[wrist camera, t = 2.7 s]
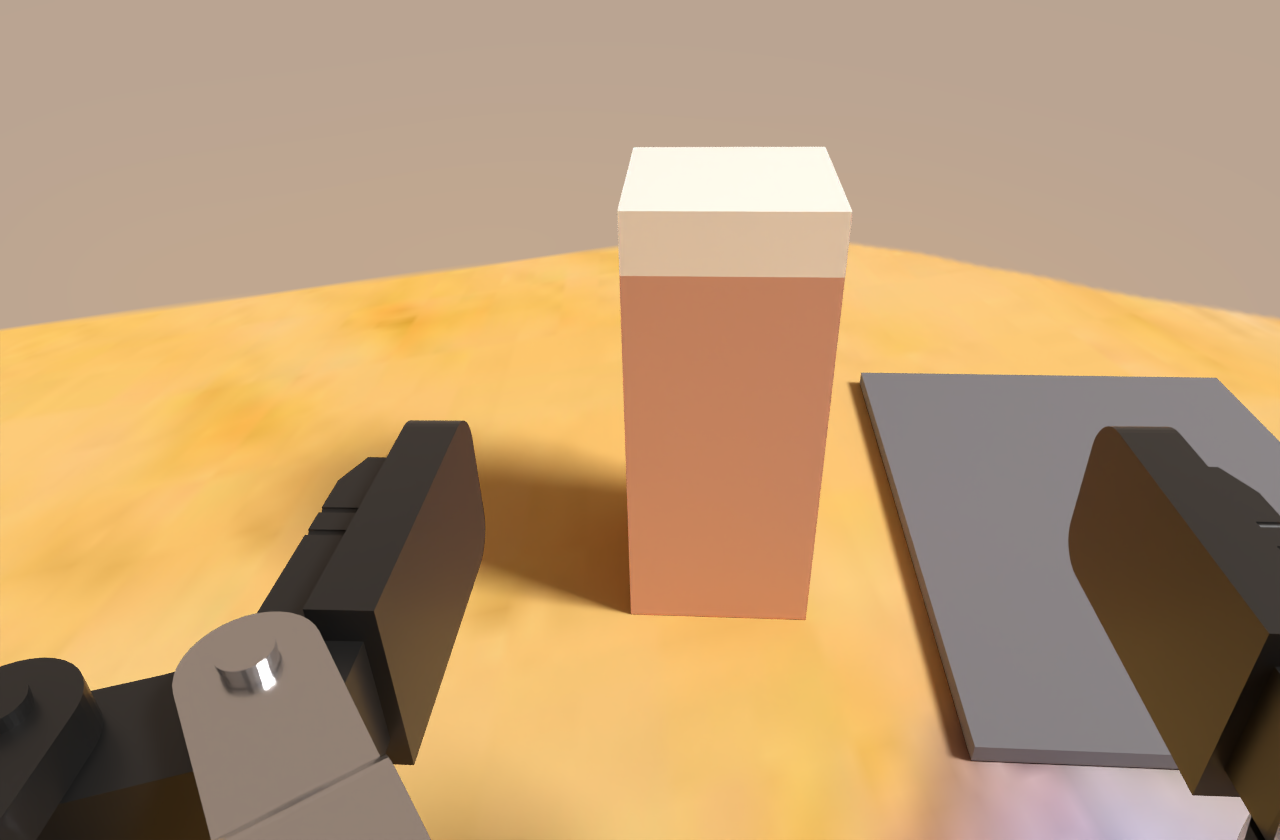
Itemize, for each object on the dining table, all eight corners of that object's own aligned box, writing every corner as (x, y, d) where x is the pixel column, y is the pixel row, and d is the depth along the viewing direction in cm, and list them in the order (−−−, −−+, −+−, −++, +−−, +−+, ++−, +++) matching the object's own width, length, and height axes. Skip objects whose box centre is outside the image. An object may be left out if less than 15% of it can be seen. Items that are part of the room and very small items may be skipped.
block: (631, 613, 25) (617, 210, 19) (641, 506, 29) (633, 146, 23) (805, 619, 25) (852, 211, 19) (791, 510, 29) (825, 146, 23)
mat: (971, 760, 21) (975, 746, 21) (859, 383, 36) (861, 372, 36) (1594, 786, 20) (1607, 773, 20) (1212, 388, 35) (1216, 377, 35)
